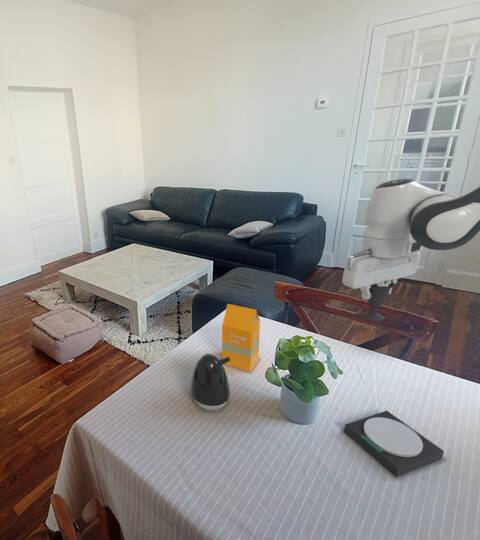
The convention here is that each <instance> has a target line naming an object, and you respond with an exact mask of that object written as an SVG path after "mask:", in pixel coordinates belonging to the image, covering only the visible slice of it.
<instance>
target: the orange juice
mask: <svg viewBox="0 0 480 540" xmlns="http://www.w3.org/2000/svg"><path fill="white" fill-rule="evenodd" d="M260 331H261V319H260V316H259V313H258V311H257V309H255V308H251V307H246V306H241V305H236V304H231V303H227V304H226V308H225V312H224V316H223V322H222V325H221V352H222V353H221V357H222V358H221V359H223V358H226V357H230V361H229V362H227V363H225V364H224V365H228V366H231V367H233V368H237V369H239V370H243V371H246V372H252V370H253V368H254V366H256V363H257V362H258V360H259V354H260Z"/></svg>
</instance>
